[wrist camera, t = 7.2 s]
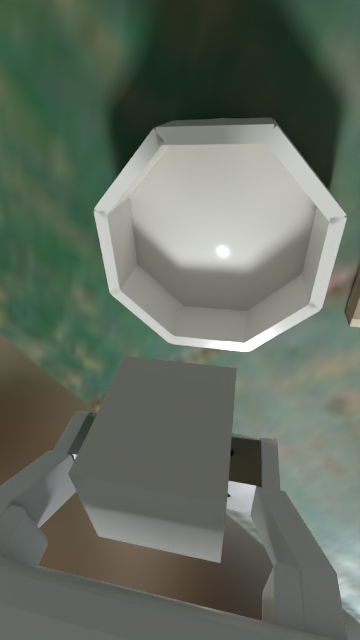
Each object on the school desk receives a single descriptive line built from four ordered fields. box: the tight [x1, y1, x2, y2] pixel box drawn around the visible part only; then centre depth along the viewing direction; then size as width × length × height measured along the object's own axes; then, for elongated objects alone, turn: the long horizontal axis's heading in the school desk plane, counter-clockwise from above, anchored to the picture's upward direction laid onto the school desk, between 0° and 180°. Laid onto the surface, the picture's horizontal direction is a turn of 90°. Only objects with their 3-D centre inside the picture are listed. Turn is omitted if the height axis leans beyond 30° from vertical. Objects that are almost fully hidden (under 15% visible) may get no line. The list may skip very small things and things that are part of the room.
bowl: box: [94, 118, 347, 352], centre depth 19 cm, size 12×12×4 cm
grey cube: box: [68, 356, 236, 563], centre depth 11 cm, size 4×4×4 cm
